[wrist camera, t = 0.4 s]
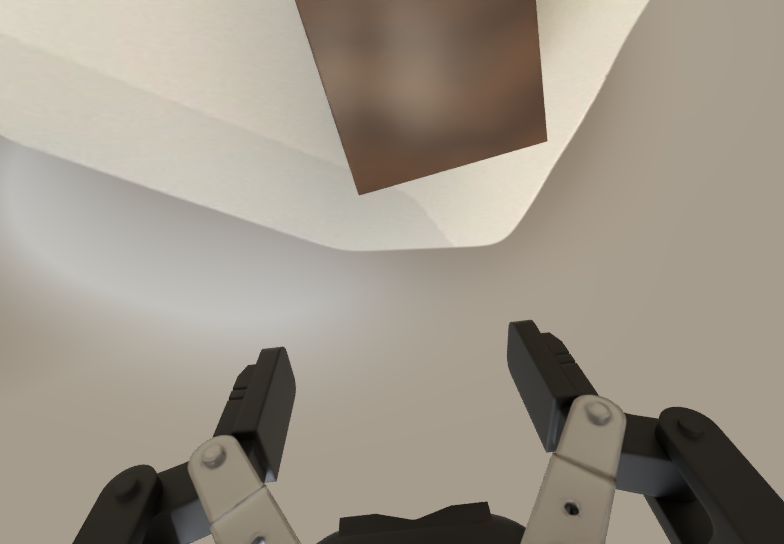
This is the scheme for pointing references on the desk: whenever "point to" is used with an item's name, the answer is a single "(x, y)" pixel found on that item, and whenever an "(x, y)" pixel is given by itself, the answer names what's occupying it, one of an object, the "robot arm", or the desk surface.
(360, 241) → the desk surface
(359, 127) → the lid
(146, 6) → the desk surface
